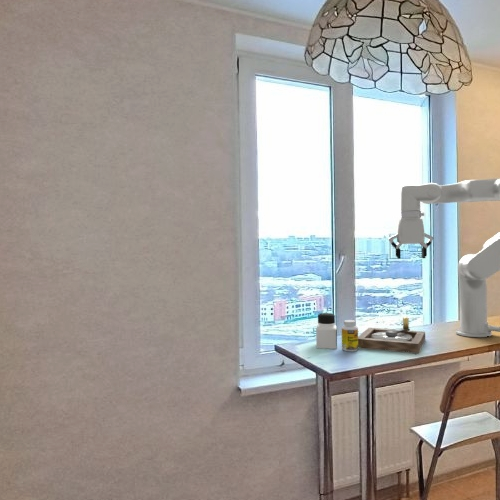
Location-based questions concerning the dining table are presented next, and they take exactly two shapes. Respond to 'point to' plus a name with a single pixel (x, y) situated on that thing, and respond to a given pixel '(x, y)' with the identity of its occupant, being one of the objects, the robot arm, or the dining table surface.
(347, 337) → the supplement bottle
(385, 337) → the dial
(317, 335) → the medicine bottle
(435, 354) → the dining table surface
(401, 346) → the housing
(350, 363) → the dining table surface
